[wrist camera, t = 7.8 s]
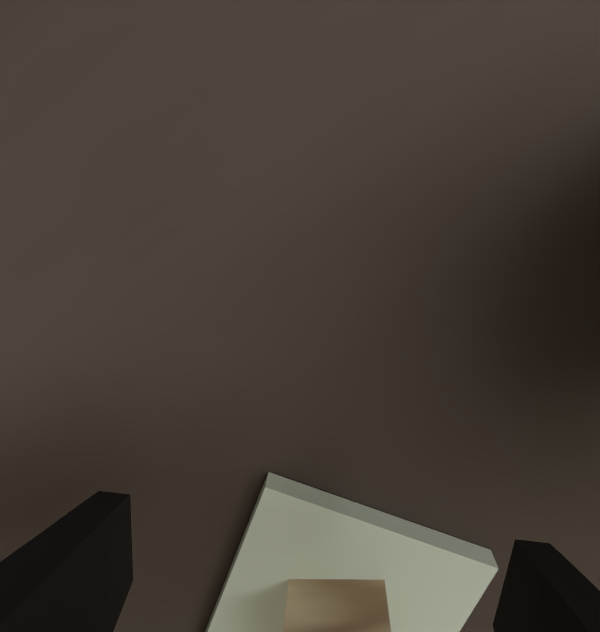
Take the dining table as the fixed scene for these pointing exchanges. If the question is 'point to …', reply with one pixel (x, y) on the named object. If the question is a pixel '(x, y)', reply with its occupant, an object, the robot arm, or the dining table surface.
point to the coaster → (347, 562)
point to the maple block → (336, 606)
